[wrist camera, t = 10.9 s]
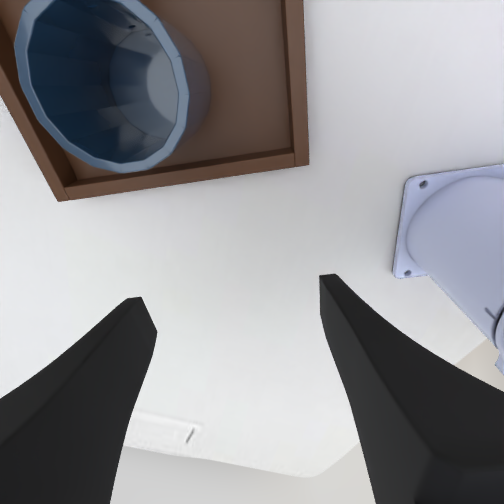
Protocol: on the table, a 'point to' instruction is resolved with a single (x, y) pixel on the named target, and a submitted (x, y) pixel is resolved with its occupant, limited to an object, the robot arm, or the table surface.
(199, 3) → the tray
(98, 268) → the table surface
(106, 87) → the cup
